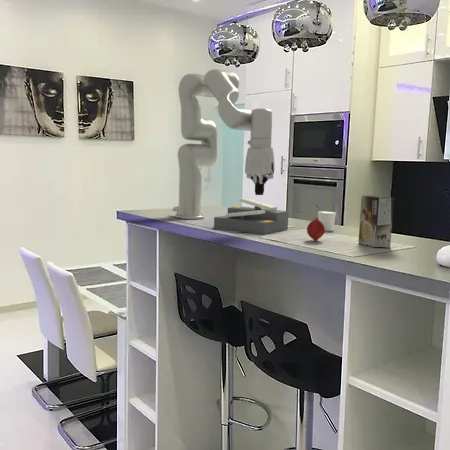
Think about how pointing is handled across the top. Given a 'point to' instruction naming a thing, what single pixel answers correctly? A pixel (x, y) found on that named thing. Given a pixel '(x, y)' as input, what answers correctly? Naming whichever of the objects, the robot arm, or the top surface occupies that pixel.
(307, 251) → the top surface
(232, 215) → the bar
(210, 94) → the robot arm
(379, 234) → the coffee box
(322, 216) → the white cup
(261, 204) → the rear rocker
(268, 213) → the switch console
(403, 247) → the top surface
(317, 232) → the onion
